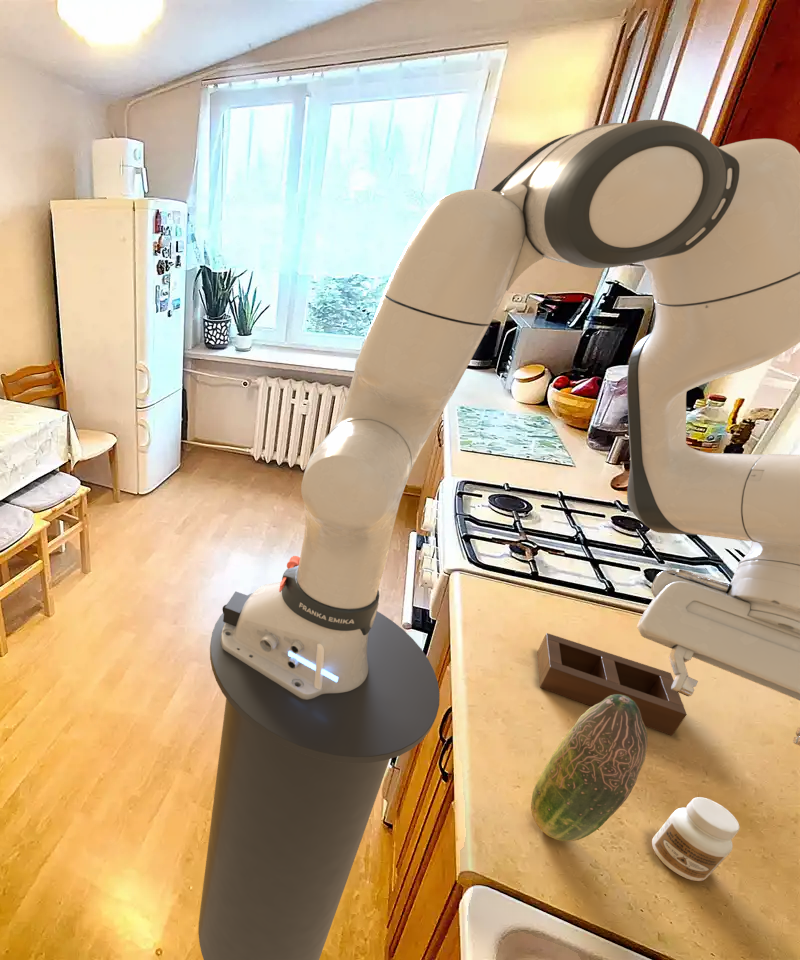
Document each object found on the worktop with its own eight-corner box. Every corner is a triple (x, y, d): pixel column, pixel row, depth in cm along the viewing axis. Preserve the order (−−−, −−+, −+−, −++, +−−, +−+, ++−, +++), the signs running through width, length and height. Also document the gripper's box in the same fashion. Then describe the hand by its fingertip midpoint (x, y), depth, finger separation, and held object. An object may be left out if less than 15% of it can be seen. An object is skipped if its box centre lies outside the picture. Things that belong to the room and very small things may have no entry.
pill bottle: (646, 856, 54) (682, 811, 51) (654, 827, 57) (688, 783, 53) (703, 893, 51) (746, 848, 48) (708, 861, 54) (749, 816, 50)
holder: (672, 735, 67) (687, 714, 65) (539, 687, 74) (550, 667, 72) (657, 693, 73) (671, 672, 72) (536, 652, 80) (546, 632, 78)
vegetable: (521, 787, 60) (590, 662, 51) (586, 819, 57) (672, 691, 48) (519, 833, 56) (595, 704, 47) (591, 869, 53) (687, 739, 44)
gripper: (669, 554, 61) (622, 660, 59) (960, 648, 48) (912, 786, 46) (654, 570, 65) (611, 667, 64) (915, 658, 53) (871, 783, 51)
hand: (740, 718), depth 55 cm, fingers open, 8 cm apart
